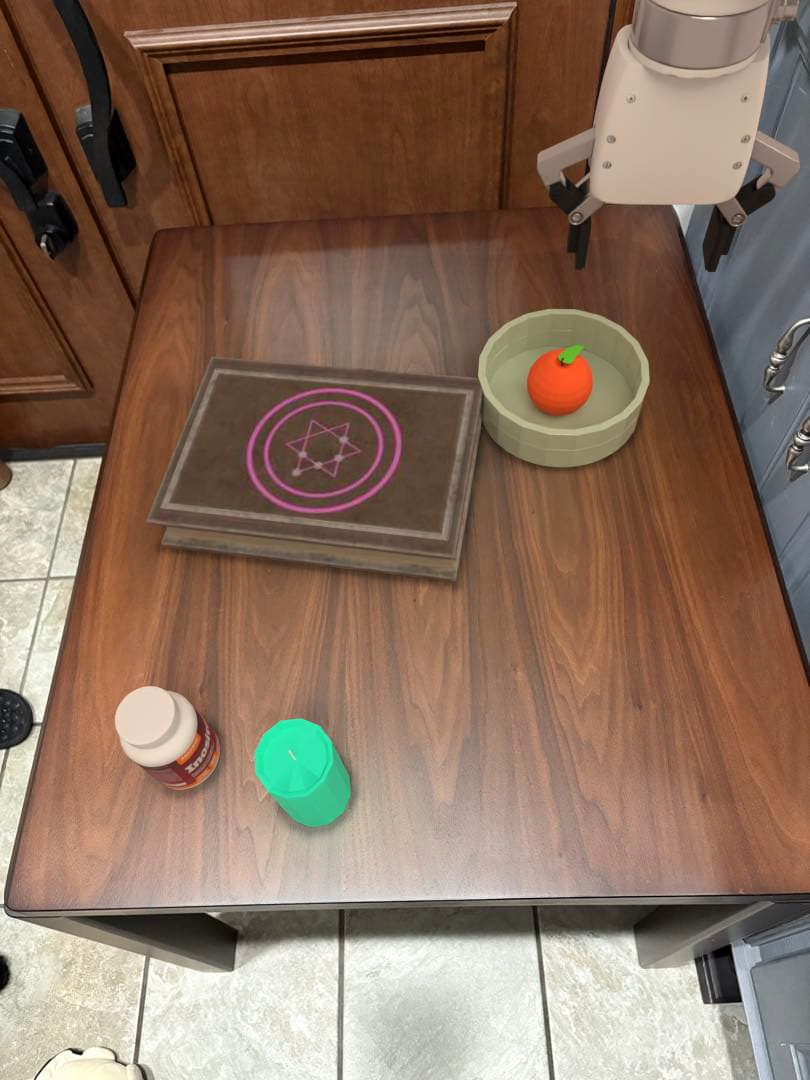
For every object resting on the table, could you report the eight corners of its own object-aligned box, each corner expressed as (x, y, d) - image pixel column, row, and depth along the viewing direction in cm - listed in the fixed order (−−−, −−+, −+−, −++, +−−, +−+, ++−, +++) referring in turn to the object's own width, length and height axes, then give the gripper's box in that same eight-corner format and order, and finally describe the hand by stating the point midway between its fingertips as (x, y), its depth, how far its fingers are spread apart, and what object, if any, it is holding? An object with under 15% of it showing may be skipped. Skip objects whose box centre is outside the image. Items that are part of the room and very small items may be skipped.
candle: (272, 773, 69) (238, 731, 58) (336, 744, 70) (314, 698, 59) (295, 839, 66) (263, 807, 56) (361, 809, 67) (342, 772, 56)
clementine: (554, 365, 90) (560, 318, 84) (606, 393, 87) (617, 346, 81) (512, 409, 87) (515, 363, 81) (565, 439, 84) (572, 394, 78)
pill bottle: (214, 793, 68) (174, 757, 59) (145, 789, 69) (94, 754, 59) (227, 722, 71) (191, 678, 62) (161, 719, 72) (115, 675, 63)
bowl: (636, 346, 91) (645, 310, 86) (643, 471, 82) (653, 438, 78) (482, 342, 93) (483, 306, 88) (473, 463, 84) (473, 431, 80)
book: (162, 546, 82) (145, 521, 77) (224, 383, 93) (212, 352, 88) (456, 582, 77) (455, 557, 73) (485, 405, 88) (485, 374, 84)
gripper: (844, -18, 47) (755, 227, 62) (549, -11, 49) (530, 225, 64) (868, 51, 43) (767, 295, 58) (547, 56, 45) (527, 290, 60)
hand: (643, 258), depth 61 cm, fingers open, 9 cm apart
